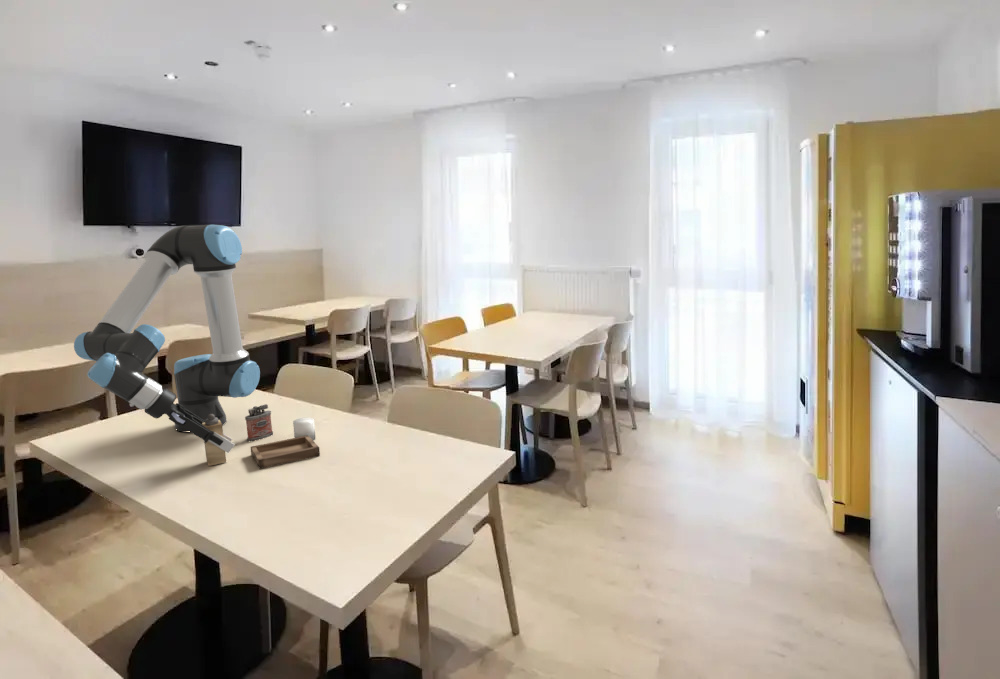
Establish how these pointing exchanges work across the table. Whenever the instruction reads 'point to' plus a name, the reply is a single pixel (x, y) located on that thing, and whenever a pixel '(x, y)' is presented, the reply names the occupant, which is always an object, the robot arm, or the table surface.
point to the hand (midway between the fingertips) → (229, 445)
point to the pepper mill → (212, 451)
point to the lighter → (258, 423)
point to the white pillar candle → (304, 427)
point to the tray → (284, 451)
